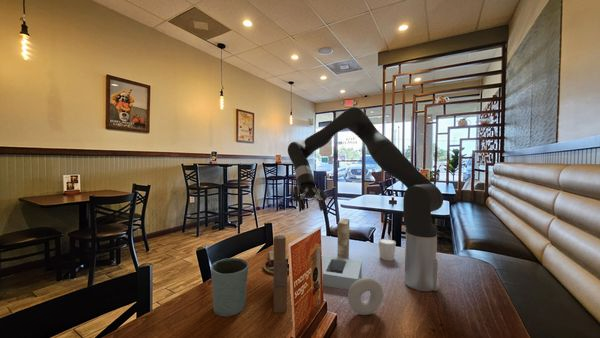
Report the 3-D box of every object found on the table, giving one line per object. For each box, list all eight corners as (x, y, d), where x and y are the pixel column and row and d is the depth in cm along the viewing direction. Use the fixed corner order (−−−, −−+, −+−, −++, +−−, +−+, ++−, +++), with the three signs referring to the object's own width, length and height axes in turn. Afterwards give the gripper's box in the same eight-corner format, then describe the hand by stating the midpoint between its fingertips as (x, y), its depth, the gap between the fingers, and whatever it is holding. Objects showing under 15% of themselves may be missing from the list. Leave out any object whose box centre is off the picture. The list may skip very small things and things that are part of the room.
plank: (348, 256, 107) (349, 219, 106) (346, 264, 99) (346, 223, 98) (340, 255, 108) (341, 218, 107) (337, 262, 100) (337, 223, 99)
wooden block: (273, 313, 68) (273, 247, 67) (273, 291, 78) (273, 234, 77) (287, 312, 68) (287, 247, 67) (284, 291, 79) (285, 234, 78)
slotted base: (361, 271, 92) (361, 260, 92) (357, 291, 79) (357, 279, 79) (319, 265, 97) (319, 255, 97) (308, 283, 84) (308, 271, 84)
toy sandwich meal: (262, 276, 89) (262, 263, 88) (264, 260, 102) (264, 249, 102) (297, 275, 90) (297, 262, 90) (295, 259, 103) (295, 248, 103)
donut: (350, 321, 65) (351, 283, 64) (345, 312, 68) (345, 276, 68) (385, 315, 67) (386, 278, 67) (378, 307, 70) (379, 272, 70)
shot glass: (377, 254, 109) (377, 238, 109) (393, 254, 108) (393, 238, 108) (379, 260, 103) (380, 243, 102) (397, 261, 102) (397, 244, 101)
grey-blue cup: (218, 296, 76) (218, 257, 75) (252, 297, 75) (252, 257, 75) (205, 318, 65) (204, 273, 65) (243, 319, 65) (243, 273, 64)
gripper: (293, 171, 106) (300, 203, 96) (322, 174, 112) (332, 205, 102) (287, 181, 111) (293, 213, 101) (315, 184, 117) (324, 214, 107)
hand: (313, 209), depth 102 cm, fingers open, 8 cm apart
